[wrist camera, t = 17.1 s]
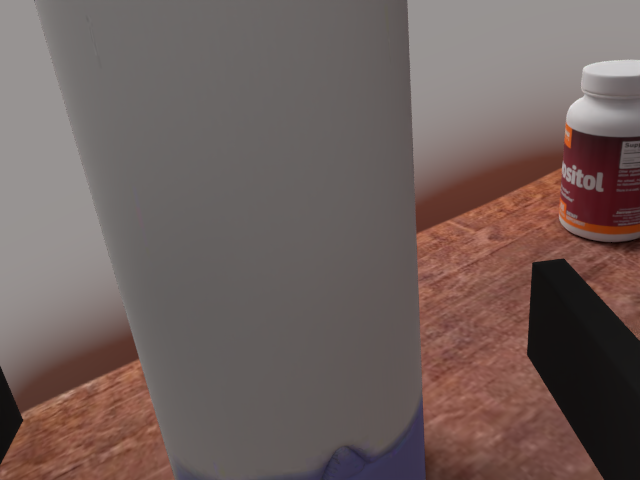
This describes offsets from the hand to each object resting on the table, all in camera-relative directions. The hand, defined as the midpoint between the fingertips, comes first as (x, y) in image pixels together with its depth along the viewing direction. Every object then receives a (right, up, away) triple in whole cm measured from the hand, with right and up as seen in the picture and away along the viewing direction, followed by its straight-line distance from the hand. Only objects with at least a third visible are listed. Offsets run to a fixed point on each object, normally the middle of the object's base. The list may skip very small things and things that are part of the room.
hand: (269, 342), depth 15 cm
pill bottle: (+21, +3, +28) cm, 36 cm away
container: (+1, -8, +11) cm, 13 cm away
